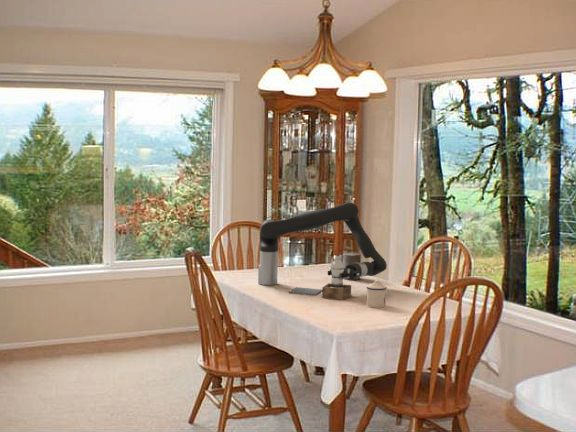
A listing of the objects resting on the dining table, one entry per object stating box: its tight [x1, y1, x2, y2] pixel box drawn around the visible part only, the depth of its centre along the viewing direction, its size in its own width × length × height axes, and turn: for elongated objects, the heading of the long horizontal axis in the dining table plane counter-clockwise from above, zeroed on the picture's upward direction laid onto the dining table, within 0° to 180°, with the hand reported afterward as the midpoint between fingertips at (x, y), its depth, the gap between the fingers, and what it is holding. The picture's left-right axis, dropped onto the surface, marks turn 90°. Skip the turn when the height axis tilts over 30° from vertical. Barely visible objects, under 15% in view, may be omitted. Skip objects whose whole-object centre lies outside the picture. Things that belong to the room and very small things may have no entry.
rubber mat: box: [287, 286, 322, 296], centre depth 352 cm, size 14×12×1 cm
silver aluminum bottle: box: [330, 254, 344, 289], centre depth 342 cm, size 6×7×20 cm
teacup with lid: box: [366, 279, 387, 309], centre depth 326 cm, size 12×9×12 cm
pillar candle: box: [342, 252, 362, 281], centre depth 388 cm, size 10×10×15 cm
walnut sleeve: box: [321, 282, 352, 301], centre depth 343 cm, size 11×10×5 cm
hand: (334, 274), depth 340 cm, fingers open, 8 cm apart
